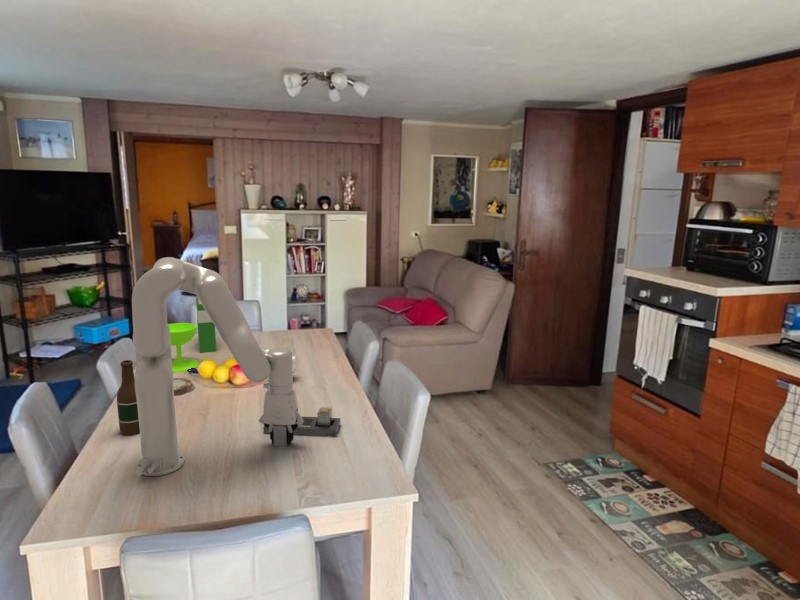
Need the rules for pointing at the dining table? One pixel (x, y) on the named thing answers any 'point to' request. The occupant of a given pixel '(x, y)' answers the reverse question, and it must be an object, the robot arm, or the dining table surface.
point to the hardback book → (205, 330)
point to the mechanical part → (294, 363)
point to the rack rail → (314, 428)
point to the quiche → (182, 386)
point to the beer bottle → (127, 401)
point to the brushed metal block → (280, 435)
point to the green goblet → (178, 337)
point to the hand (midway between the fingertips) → (282, 441)
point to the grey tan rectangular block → (325, 417)
